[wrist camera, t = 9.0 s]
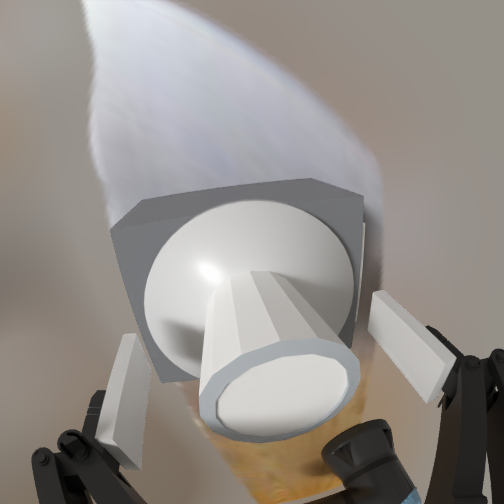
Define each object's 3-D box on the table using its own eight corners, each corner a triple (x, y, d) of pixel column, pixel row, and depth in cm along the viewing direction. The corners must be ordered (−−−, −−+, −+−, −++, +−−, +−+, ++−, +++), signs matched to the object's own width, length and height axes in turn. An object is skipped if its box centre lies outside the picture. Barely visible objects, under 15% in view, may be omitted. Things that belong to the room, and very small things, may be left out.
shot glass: (287, 359, 18) (321, 440, 12) (187, 348, 17) (187, 442, 10) (325, 271, 16) (390, 343, 10) (210, 247, 14) (218, 328, 8)
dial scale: (321, 297, 29) (366, 356, 20) (170, 322, 27) (162, 396, 18) (320, 172, 24) (385, 190, 15) (140, 194, 22) (102, 226, 13)
